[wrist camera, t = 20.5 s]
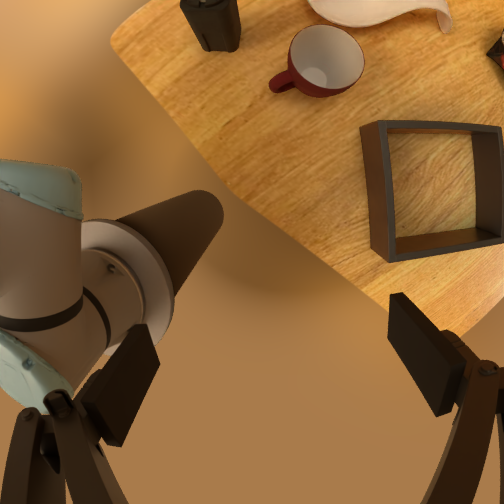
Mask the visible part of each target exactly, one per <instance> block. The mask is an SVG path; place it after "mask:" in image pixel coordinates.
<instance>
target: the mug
mask: <svg viewBox="0 0 504 504" xmlns="http://www.w3.org/2000/svg"><path fill="white" fill-rule="evenodd" d="M364 65H365V60H364V54H363V51H362V49H361V47H360V45H359V44H358V42H357V41H356V40H355V39H354V38H353V37H352V36H351V35H350V34H349V33H347V32H346V31H344V30H342V29H340V28H338V27H335V26H331V25H325V24H317V25H312V26H308V27H306V28H304V29H302V30H301V31H299V32H298V33H297V34H296V35H295V37H294V38H293V40H292V42H291V45H290V48H289V52H288V70H286V71H284V72H281V73H279V74H277V75H276V76H274V77H273V78H272V79H271V80H270V81H269V88H270V90H271V91H272V92H273V93H282V92H285V91H287V90H289V89H292V88H294V87H296V88H298V89H299V90H300V91H301V92H303V93H304V94H306V95H308V96H311V97H316V98H323V97H328V96H333V95H337V94H340V93H342V92H344V91H346V90H347V89H349V88H350V87H351V86H352V85H354V84H355V83H356V82H357V80H358V79H359V78H360V77H361V75H362V73H363V70H364Z"/></svg>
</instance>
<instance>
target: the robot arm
mask: <svg viewBox="0 0 504 504" xmlns="http://www.w3.org/2000/svg"><path fill="white" fill-rule="evenodd" d="M81 202H82V184H81V180H80V177H79V176H78V174H77V173H76V172H75V171H73V170H72V169H69V168H66V167H60V166H54V165H48V164H40V163H32V162H25V161H16V160H7V159H0V387H1V388H2V389H4V390H5V392H6V393H7V394H9V395H10V396H11V397H12V398H13V399H15V400H16V401H18V402H19V403H20V404H22V405H23V406H25V407H27V408H25V409H23V410H22V411H21V412H20V413H19V415H18V417H17V419H16V423H15V427H14V431H13V435H12V439H11V443H10V447H9V452H8V457H7V461H6V467H5V473H4V479H3V484H2V491H1V499H0V504H66V495H65V494H66V490H65V479H66V482H67V486H68V489H69V492H70V495H71V498H72V501H73V504H128V501H127V500H126V498H125V496H124V494H123V492H122V490H121V488H120V486H119V484H118V482H117V480H116V478H115V476H114V474H113V472H112V470H111V467H110V465H109V463H108V461H107V459H106V456H105V454H104V451H103V449H102V447H101V445H100V444H99V440H100V439H101V437H102V438H103V440H104V441H105V443H106V444H107V445H110V446H116V447H122V445H123V443H124V440H125V438H126V436H127V434H128V432H129V429H130V427H131V425H132V423H133V421H134V419H135V417H136V414H137V412H138V410H139V408H140V406H141V404H142V401H143V399H144V397H145V395H146V393H147V391H148V389H149V387H150V385H151V383H152V380H153V378H154V376H155V374H156V372H157V370H158V368H159V366H160V362H159V359H158V356H157V353H156V350H155V347H154V344H153V341H152V338H151V335H150V332H149V329H148V325H147V324H141V323H142V321H143V319H144V316H145V310H146V300H145V294H144V290H143V287H142V284H141V282H140V280H139V278H138V276H137V275H136V273H135V272H134V270H133V269H132V268H131V267H130V265H129V264H128V263H127V262H126V261H125V260H123V259H122V258H121V257H120V256H118V255H117V254H115V253H113V252H111V251H109V250H106V249H102V248H95V247H92V248H86V249H83V250H81V229H82V220H83V214H82V203H81ZM387 338H388V340H389V342H390V343H391V344H392V346H393V348H394V349H395V351H396V352H397V354H398V356H399V357H400V359H401V360H402V362H403V363H404V365H405V366H406V368H407V370H408V371H409V373H410V375H411V376H412V378H413V379H414V381H415V383H416V384H417V386H418V388H419V389H420V391H421V392H422V394H423V396H424V398H425V399H426V401H427V403H428V404H429V406H430V408H431V410H432V411H433V413H434V415H435V416H436V417H439V416H441V415H444V414H447V413H450V412H451V411H452V408H453V405H454V402H455V403H456V404H457V406H458V407H459V408H458V411H457V414H456V416H455V419H454V421H453V424H452V425H453V427H452V430H451V433H450V436H449V439H448V441H447V444H446V447H445V450H444V452H443V454H442V457H441V460H440V462H439V464H438V467H437V469H436V472H435V474H434V476H433V479H432V481H431V483H430V485H429V487H428V489H427V492H426V494H425V496H424V498H423V500H422V502H421V504H472V502H473V499H474V496H475V493H476V490H477V487H478V484H479V481H480V478H481V474H482V471H483V467H484V464H485V460H486V456H487V452H488V448H489V443H490V439H491V434H492V429H493V423H494V418H495V414H496V416H497V424H498V433H499V448H500V474H501V475H500V477H501V478H500V504H504V367H501V368H499V366H498V365H497V364H496V363H494V362H493V361H489V360H480V359H479V358H478V357H477V356H476V355H475V354H474V353H473V352H472V351H471V349H470V348H469V347H468V346H467V345H465V343H464V342H463V341H461V339H460V338H459V337H458V336H457V335H456V334H455V333H453V332H451V331H449V330H447V329H446V330H443V331H440V330H439V329H438V328H437V327H436V326H435V325H434V324H433V323H432V322H431V321H430V320H429V319H428V318H427V317H426V316H425V315H424V314H423V312H422V311H421V310H420V309H419V308H418V307H417V306H416V305H415V304H414V303H413V302H412V301H411V300H410V299H409V298H408V297H407V296H406V295H405V294H404V293H403V292H400V293H395V294H390V301H389V321H388V336H387ZM119 343H121V344H120V345H119V346H118V348H117V349H116V350H115V352H114V353H113V355H112V356H111V357H110V359H109V360H108V361H107V363H106V364H105V366H104V367H103V368H102V369H98V370H97V371H96V372H94V373H93V374H92V375H91V376H90V377H89V379H88V380H87V383H85V384H84V386H83V388H81V390H80V391H79V392H78V394H77V395H76V397H75V398H74V399H73V401H72V399H71V398H72V397H73V395H74V392H75V390H76V389H77V388H78V386H79V385H80V384H81V382H82V381H83V379H84V378H85V377H86V375H87V374H88V373H89V371H90V370H91V369H92V367H93V366H94V365H95V363H96V362H97V361H98V359H99V358H100V357H101V356H102V354H103V353H104V351H105V350H106V349H108V348H110V347H112V346H114V345H117V344H119ZM41 413H43V414H50V415H41Z"/></svg>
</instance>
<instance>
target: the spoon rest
mask: <svg viewBox="0 0 504 504" xmlns="http://www.w3.org/2000/svg"><path fill="white" fill-rule="evenodd" d="M308 2H309V4H310V6H311V7H312V8H313V9H314V11H315V12H316V13H318V14H319V15H320V16H321V17H323V18H324V19H326V20H328V21H330V22H332V23H334V24H337V25H340V26H345V27H351V28H361V27H368V26H373V25H376V24H380V23H382V22H385V21H387V20H390V19H392V18H394V17H396V16H399V15H401V14H404V13H406V12H409V11H412V10H416V9H422V8H429V9H434V10H437V13H436V15H437V20H438V23H439V26H440V29H441V31H442V32H443V33H444V34H447V33H448V32H449V31H450V30H451V28H452V25H453V21H452V17H451V15H450V12H449V8H448V4H447V2H446V1H445V0H308Z"/></svg>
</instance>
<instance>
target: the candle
mask: <svg viewBox="0 0 504 504" xmlns="http://www.w3.org/2000/svg"><path fill="white" fill-rule="evenodd" d="M180 8H181V10H182V11H183V13H184V15H185V17H186V19H187V20H188V22H189V24H190V26H191V28H192V30H193V31H194V33H195V35H196V37H197V39H198V41H199V43H200V44H201V46H202V48H203V49H204V50H205V51H207V52H210V51H228V52H229V53H230V52H234V51H236V50H237V49H238V47H239V41H240V35H241V24H240V18H239V12H238V6H237V0H181V1H180Z"/></svg>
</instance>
